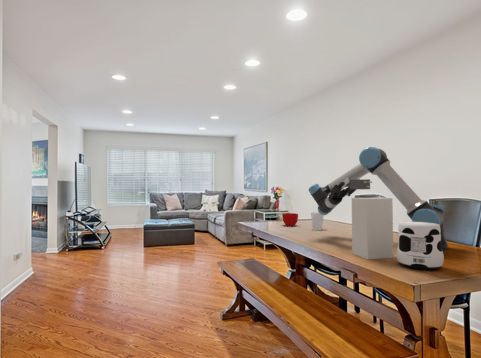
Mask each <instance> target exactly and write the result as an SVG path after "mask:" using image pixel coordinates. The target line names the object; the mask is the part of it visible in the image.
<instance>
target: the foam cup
mask: <svg viewBox="0 0 481 358" xmlns="http://www.w3.org/2000/svg"><path fill="white" fill-rule="evenodd" d="M310 216H311V221H312V222H311V224H312V230H313V231H323V224H324V217H325V215H322V214H320V213H319V212H318V211H316V212H315V211H313V212H310Z"/></svg>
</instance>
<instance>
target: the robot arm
mask: <svg viewBox="0 0 481 358" xmlns="http://www.w3.org/2000/svg"><path fill="white" fill-rule="evenodd" d="M358 160H359V163H358V164H357V165H355V166H353V167H352V168H351V169H349V170H348V171H347V172H345V173H343V174H341V175H340V176H338V177H337V178H336V179H334V180H332V181H330V183H328V184H327V185H325V186H321V185H319V183H314V184H312V185H311V186H310V187H309V188H308V192H309V193H310V196H311V197H312V199H313V200H314V202H316V204H317V212H319V213H320V214H322V215H324V216H326V215H328V214H330V213H332V211H333V210H334V209H335V208H336V207H337V206H338V205H339V204H340V203H342V201H343V199H344V198H345V197H346V196H347V197H350V196H351V195H352V194H353V193H354V192H356V191H357V190H358V189H350V187H345V186H346V185H347V184H348V183H349V182H350V180H361V178H362V177H364V176H365V175H368V174H371V175H373V176H377V177H378V179H379V180H380V181H381V182H382V183H383V184H384V186H386V188H387V189H388V190H389V191H390V192H391V194H392V195H393V196H394V197H395V199H397V200H398V201H399V202H400V204H401V205H402V206H403V207H404V209H406V215H407V216H408V217H409V219H410V220H411V222H427V223H435V224H439V225H440V229H441V233H440V234H441V249H442V251H444V250H448V249H449V243H448V241H447V239H446V238H447V237H446V235H445V227H444V225H445V222H444V221H445V220H444V215H445V214H444V213H445V210H444V206H443V205H441V204H440V205H439V204H430V203H429V202H428V201H427V200H423V199H421V198H420V196H419V195H418V193H416V192H415V191H414V190H413V188H411V187H410V186H409V185H408V184H407V182H406V181H405V180H404V179H403V178H402V177H401V176H400V174H399V173H398V172H397V171H396V170H395V169H394V168H393V167H392V166H391V161H390V159H389V158H388V156H387V153H386V152H385V151H384V150H383V149H380V148H377V147H376V146H369V147H365V148H363V149H362V150H361V152H360V154H359V156H358ZM340 182H342V183H341V184H340Z"/></svg>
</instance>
